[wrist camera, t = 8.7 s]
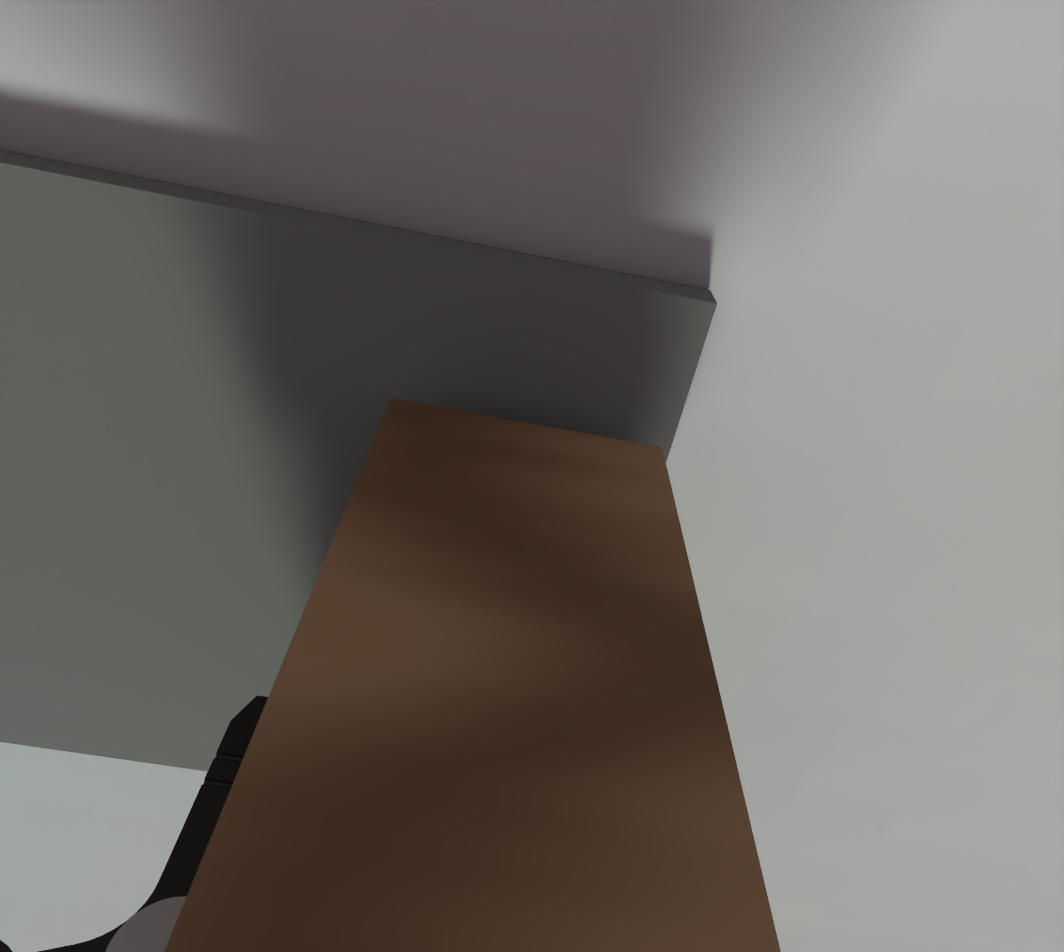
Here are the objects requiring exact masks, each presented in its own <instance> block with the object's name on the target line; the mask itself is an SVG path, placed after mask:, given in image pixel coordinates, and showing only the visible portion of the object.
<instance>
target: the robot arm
mask: <svg viewBox="0 0 1064 952" xmlns="http://www.w3.org/2000/svg"><path fill="white" fill-rule="evenodd" d="M267 699H268V697H265V696H258V695H257V696H256V697H255V698H254V699H253V700H252V701H251V702H250V703H249V704H247V705H246V706H245V707H244V708H243V709H242V710H241V711H240V712H239V713H238V714H237V715H236V716H235V717H234V718H233V719H232V720H231V721H230V723H229V725H228V727H227V730H226V732H225V734H224V736H223V739H222V741H221V743H220V745H219V748H218V750H217V752H216V757H215V759H213V761H212V763H211V766H210V768H209V770H208V772H207V775H206V777H205V781H204V784H203V785H202V786H201V788H200V790H199V792H198V795H197V797H196V799H195V801H194V804H193V806H192V808H191V810H190V813H189V815H188V817H187V819H186V822H185V824H184V826H183V828H182V831H181V833H180V835H179V837H178V840H177V842H176V844H175V846H174V849H173V851H172V853H171V855H170V858H169V860H168V862H167V864H166V866H165V869H164V871H163V873H162V875H161V878H160V880H159V882H158V884H157V886H156V888H155V890H154V892H153V893H152V895H151V896H150V897H149V899H148V900H147V901H146V903H145V904H144V905H143V906H142V907H141V908H140V909H139V910H138V911H137V912H136V913H135V914H134V915H133V916H132V917H131V918H129V919H128V920H127V921H126V922H124V923H123V924H121V925H120V926H118V927H117V928H115V929H114V930H112V931H110V932H108V933H106V934H104V935H102V936H100V937H97V938H95V939H92V940H90V941H86V942H82V943H79V944H75V945H70V946H64V947H59V948H54V949H49V950H44V951H39V952H164V951H165V948H166V946H167V944H168V941H169V939H170V936H171V934H172V931H173V929H174V926H175V924H176V922H177V919H178V917H179V914H180V912H181V909H182V907H183V904H184V902H185V900H186V897H187V895H188V892H189V890H190V887H191V885H192V882H193V880H194V878H195V875H196V873H197V870H198V868H199V865H200V863H201V860H202V858H203V856H204V853H205V851H206V848H207V846H208V843H209V841H210V838H211V836H212V834H213V831H214V829H215V826H216V824H217V821H218V819H219V816H220V814H221V812H222V809H223V807H224V804H225V802H226V799H227V797H228V794H229V792H230V790H231V787H232V785H233V782H234V780H235V777H236V775H237V772H238V770H239V768H240V765H241V763H242V760H243V758H244V755H245V753H246V750H247V748H248V746H249V743H250V741H251V738H252V736H253V733H254V731H255V728H256V726H257V724H258V721H259V719H260V716H261V714H262V711H263V709H264V706H265V704H266V702H267ZM0 952H12V951H11V949H10V948H9V947H8V946H7V945H6V944H5V943H3V942H2V941H1V940H0Z"/></svg>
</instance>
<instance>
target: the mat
mask: <svg viewBox="0 0 1064 952" xmlns="http://www.w3.org/2000/svg"><path fill="white" fill-rule="evenodd" d="M716 305H717V303H716V301H715V299H714V297H713V295H712V293H711V291H710V290H706V289H701V288H696V287H691V286H686V285H681V284H676V283H671V282H666V281H660V280H655V279H650V278H645V277H640V276H635V275H630V274H625V273H620V272H615V271H610V270H605V269H600V268H595V267H590V266H585V265H580V264H574V263H569V262H564V261H559V260H554V259H549V258H544V257H539V256H534V255H529V254H524V253H519V252H514V251H509V250H504V249H499V248H493V247H488V246H483V245H478V244H473V243H468V242H463V241H458V240H453V239H448V238H443V237H438V236H433V235H428V234H423V233H418V232H413V231H407V230H402V229H397V228H392V227H387V226H382V225H377V224H372V223H367V222H362V221H357V220H352V219H347V218H342V217H337V216H332V215H327V214H321V213H316V212H311V211H306V210H301V209H296V208H291V207H286V206H281V205H276V204H271V203H266V202H261V201H256V200H251V199H246V198H241V197H235V196H230V195H225V194H220V193H215V192H210V191H205V190H200V189H195V188H190V187H185V186H180V185H175V184H170V183H165V182H160V181H155V180H149V179H144V178H139V177H134V176H129V175H124V174H119V173H114V172H109V171H104V170H99V169H94V168H89V167H84V166H79V165H74V164H69V163H63V162H58V161H53V160H48V159H43V158H38V157H33V156H28V155H23V154H18V153H13V152H8V151H3V150H0V742H5V743H13V744H20V745H27V746H34V747H41V748H48V749H55V750H62V751H69V752H76V753H83V754H90V755H97V756H104V757H111V758H118V759H125V760H132V761H139V762H146V763H153V764H160V765H167V766H174V767H181V768H188V769H195V770H202V771H208V770H209V768H210V766H211V763H212V761H213V759H215V757H216V752H217V750H218V748H219V745H220V743H221V741H222V739H223V736H224V734H225V732H226V730H227V727H228V725H229V723H230V721H231V720H232V719H233V718H234V717H235V716H236V715H237V714H238V713H239V712H240V711H241V710H242V709H243V708H244V707H245V706H246V705H247V704H249V703H250V702H251V701H252V700H253V699H254V698H255V697H256V696H257V695H258V696H265V697H269V694H270V692H271V689H272V687H273V684H274V682H275V680H276V677H277V675H278V672H279V670H280V667H281V665H282V662H283V660H284V658H285V655H286V653H287V650H288V648H289V645H290V643H291V640H292V638H293V636H294V633H295V631H296V628H297V626H298V623H299V621H300V618H301V616H302V614H303V611H304V609H305V606H306V604H307V601H308V599H309V596H310V594H311V592H312V589H313V587H314V584H315V582H316V579H317V577H318V574H319V572H320V570H321V567H322V565H323V562H324V560H325V557H326V555H327V552H328V550H329V548H330V545H331V543H332V540H333V538H334V535H335V533H336V530H337V528H338V526H339V523H340V521H341V518H342V516H343V513H344V511H345V508H346V506H347V504H348V501H349V499H350V496H351V494H352V491H353V489H354V486H355V484H356V482H357V479H358V477H359V474H360V472H361V469H362V467H363V464H364V462H365V460H366V457H367V455H368V452H369V450H370V447H371V445H372V442H373V440H374V438H375V435H376V433H377V430H378V428H379V425H380V423H381V420H382V418H383V416H384V413H385V411H386V408H387V406H388V403H389V401H390V398H395V399H401V400H406V401H412V402H417V403H423V404H428V405H434V406H439V407H445V408H450V409H455V410H461V411H466V412H472V413H477V414H483V415H488V416H494V417H499V418H505V419H510V420H516V421H521V422H527V423H532V424H538V425H543V426H548V427H554V428H559V429H565V430H570V431H576V432H581V433H587V434H592V435H598V436H603V437H609V438H614V439H620V440H625V441H631V442H636V443H641V444H647V445H652V446H658V447H662V450H663V454H664V458H665V463H666V461H667V458H668V454H669V451H670V448H671V445H672V442H673V439H674V436H675V433H676V429H677V426H678V423H679V420H680V417H681V414H682V411H683V408H684V405H685V401H686V398H687V395H688V392H689V389H690V386H691V383H692V380H693V376H694V373H695V370H696V367H697V364H698V361H699V358H700V355H701V352H702V348H703V345H704V342H705V339H706V336H707V333H708V330H709V327H710V323H711V320H712V317H713V314H714V311H715V308H716Z"/></svg>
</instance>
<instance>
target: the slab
mask: <svg viewBox="0 0 1064 952" xmlns="http://www.w3.org/2000/svg"><path fill="white" fill-rule="evenodd" d="M164 952H780V947H779V943H778V939H777V935H776V930H775V926H774V922H773V918H772V913H771V909H770V905H769V901H768V896H767V892H766V888H765V884H764V879H763V875H762V871H761V867H760V862H759V858H758V854H757V850H756V845H755V841H754V837H753V833H752V828H751V824H750V820H749V816H748V811H747V807H746V803H745V799H744V794H743V790H742V786H741V782H740V777H739V773H738V769H737V765H736V760H735V756H734V752H733V748H732V743H731V739H730V735H729V730H728V726H727V722H726V718H725V713H724V709H723V705H722V701H721V696H720V692H719V688H718V684H717V679H716V675H715V671H714V667H713V662H712V658H711V654H710V650H709V645H708V641H707V637H706V633H705V628H704V624H703V620H702V616H701V611H700V607H699V603H698V599H697V594H696V590H695V586H694V582H693V577H692V573H691V569H690V565H689V560H688V556H687V552H686V548H685V543H684V539H683V535H682V531H681V526H680V522H679V518H678V514H677V509H676V505H675V501H674V497H673V492H672V488H671V484H670V480H669V475H668V471H667V467H666V463H665V458H664V454H663V450H662V447H658V446H652V445H647V444H641V443H636V442H631V441H625V440H620V439H614V438H609V437H603V436H598V435H592V434H587V433H581V432H576V431H570V430H565V429H559V428H554V427H548V426H543V425H538V424H532V423H527V422H521V421H516V420H510V419H505V418H499V417H494V416H488V415H483V414H477V413H472V412H466V411H461V410H455V409H450V408H445V407H439V406H434V405H428V404H423V403H417V402H412V401H406V400H401V399H395V398H390V401H389V403H388V406H387V408H386V411H385V413H384V416H383V418H382V420H381V423H380V425H379V428H378V430H377V433H376V435H375V438H374V440H373V442H372V445H371V447H370V450H369V452H368V455H367V457H366V460H365V462H364V464H363V467H362V469H361V472H360V474H359V477H358V479H357V482H356V484H355V486H354V489H353V491H352V494H351V496H350V499H349V501H348V504H347V506H346V508H345V511H344V513H343V516H342V518H341V521H340V523H339V526H338V528H337V530H336V533H335V535H334V538H333V540H332V543H331V545H330V548H329V550H328V552H327V555H326V557H325V560H324V562H323V565H322V567H321V570H320V572H319V574H318V577H317V579H316V582H315V584H314V587H313V589H312V592H311V594H310V596H309V599H308V601H307V604H306V606H305V609H304V611H303V614H302V616H301V618H300V621H299V623H298V626H297V628H296V631H295V633H294V636H293V638H292V640H291V643H290V645H289V648H288V650H287V653H286V655H285V658H284V660H283V662H282V665H281V667H280V670H279V672H278V675H277V677H276V680H275V682H274V684H273V687H272V689H271V692H270V694H269V697H268V699H267V702H266V704H265V706H264V709H263V711H262V714H261V716H260V719H259V721H258V724H257V726H256V728H255V731H254V733H253V736H252V738H251V741H250V743H249V746H248V748H247V750H246V753H245V755H244V758H243V760H242V763H241V765H240V768H239V770H238V772H237V775H236V777H235V780H234V782H233V785H232V787H231V790H230V792H229V794H228V797H227V799H226V802H225V804H224V807H223V809H222V812H221V814H220V816H219V819H218V821H217V824H216V826H215V829H214V831H213V834H212V836H211V838H210V841H209V843H208V846H207V848H206V851H205V853H204V856H203V858H202V860H201V863H200V865H199V868H198V870H197V873H196V875H195V878H194V880H193V882H192V885H191V887H190V890H189V892H188V895H187V897H186V900H185V902H184V904H183V907H182V909H181V912H180V914H179V917H178V919H177V922H176V924H175V926H174V929H173V931H172V934H171V936H170V939H169V941H168V944H167V946H166V948H165V951H164Z"/></svg>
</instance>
